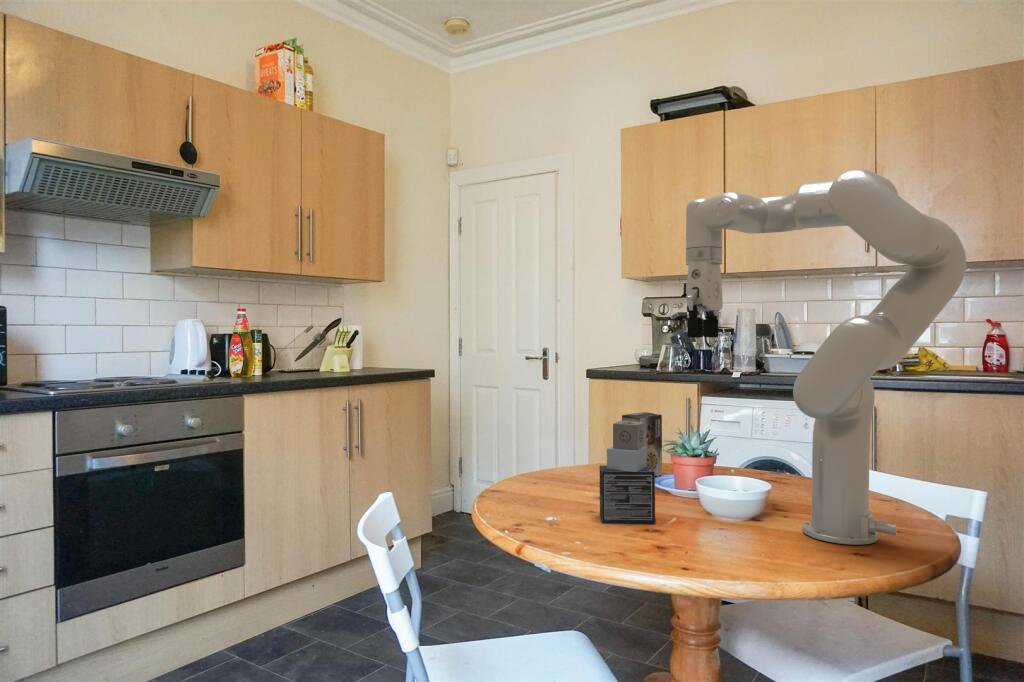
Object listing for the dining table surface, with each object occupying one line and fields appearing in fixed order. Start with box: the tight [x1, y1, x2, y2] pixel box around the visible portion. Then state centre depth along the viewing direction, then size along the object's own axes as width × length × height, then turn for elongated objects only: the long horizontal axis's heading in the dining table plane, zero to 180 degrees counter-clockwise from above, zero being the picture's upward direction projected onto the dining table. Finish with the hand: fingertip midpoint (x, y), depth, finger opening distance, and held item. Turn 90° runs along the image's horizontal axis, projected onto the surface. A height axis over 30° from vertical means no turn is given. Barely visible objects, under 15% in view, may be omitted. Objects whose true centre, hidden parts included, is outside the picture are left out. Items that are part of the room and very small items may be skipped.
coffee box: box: [621, 411, 663, 477], centre depth 175 cm, size 9×6×16 cm
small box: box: [599, 465, 657, 525], centre depth 135 cm, size 11×6×10 cm, turn 87°
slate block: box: [606, 446, 647, 472], centre depth 135 cm, size 6×6×4 cm
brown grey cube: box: [612, 420, 644, 451], centre depth 135 cm, size 5×5×5 cm
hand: (703, 337), depth 145 cm, fingers open, 9 cm apart
